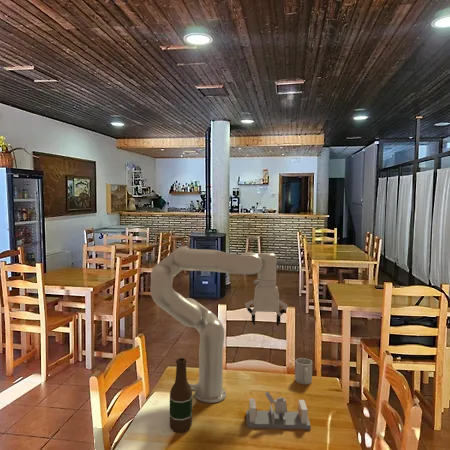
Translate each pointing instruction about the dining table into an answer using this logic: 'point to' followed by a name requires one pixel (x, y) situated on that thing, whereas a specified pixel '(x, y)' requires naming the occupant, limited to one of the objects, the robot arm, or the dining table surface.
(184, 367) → the beer bottle
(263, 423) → the grey holder rack
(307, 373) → the cup
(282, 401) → the lighter
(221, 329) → the robot arm
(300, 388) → the dining table surface
